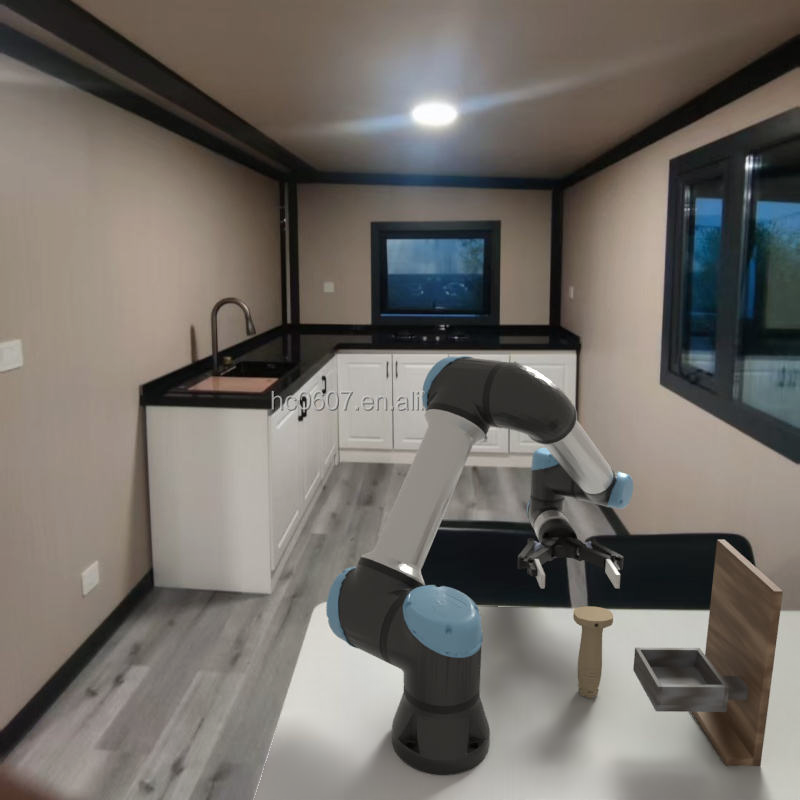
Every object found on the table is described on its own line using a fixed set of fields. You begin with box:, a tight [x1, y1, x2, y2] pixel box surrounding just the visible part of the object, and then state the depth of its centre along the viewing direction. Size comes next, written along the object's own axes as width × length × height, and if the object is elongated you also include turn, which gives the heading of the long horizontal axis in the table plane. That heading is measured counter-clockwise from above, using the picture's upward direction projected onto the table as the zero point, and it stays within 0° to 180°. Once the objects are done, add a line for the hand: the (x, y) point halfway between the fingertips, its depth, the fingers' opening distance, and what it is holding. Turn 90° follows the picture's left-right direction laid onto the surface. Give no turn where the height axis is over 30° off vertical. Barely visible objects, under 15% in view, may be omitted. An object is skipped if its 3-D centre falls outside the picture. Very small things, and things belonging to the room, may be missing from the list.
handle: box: [572, 606, 614, 699], centre depth 117 cm, size 5×6×15 cm
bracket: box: [632, 539, 784, 767], centre depth 108 cm, size 16×18×28 cm
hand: (580, 581), depth 125 cm, fingers open, 13 cm apart
